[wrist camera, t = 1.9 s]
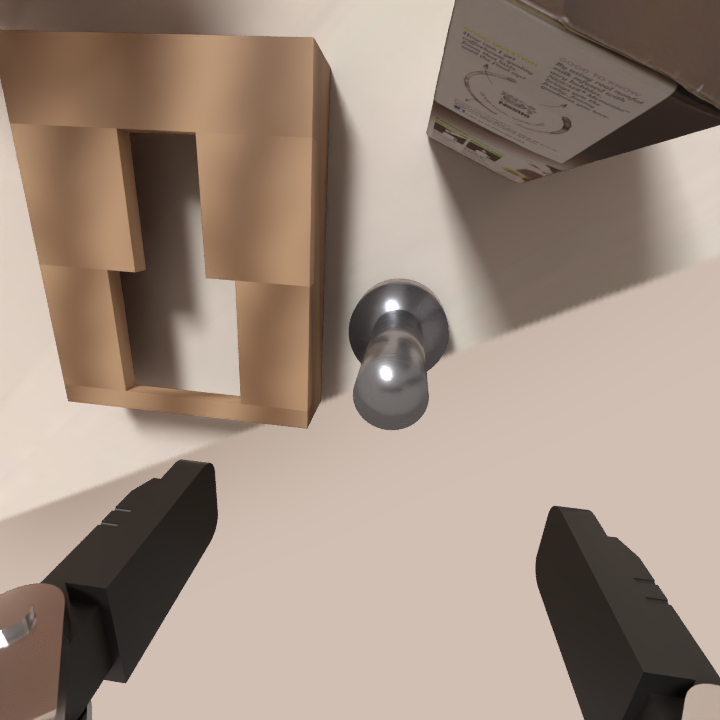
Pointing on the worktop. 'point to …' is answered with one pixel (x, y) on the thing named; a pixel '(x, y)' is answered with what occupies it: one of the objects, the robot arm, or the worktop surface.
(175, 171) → the worktop surface
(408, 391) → the peg
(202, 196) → the keyhole plate
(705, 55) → the coffee box
